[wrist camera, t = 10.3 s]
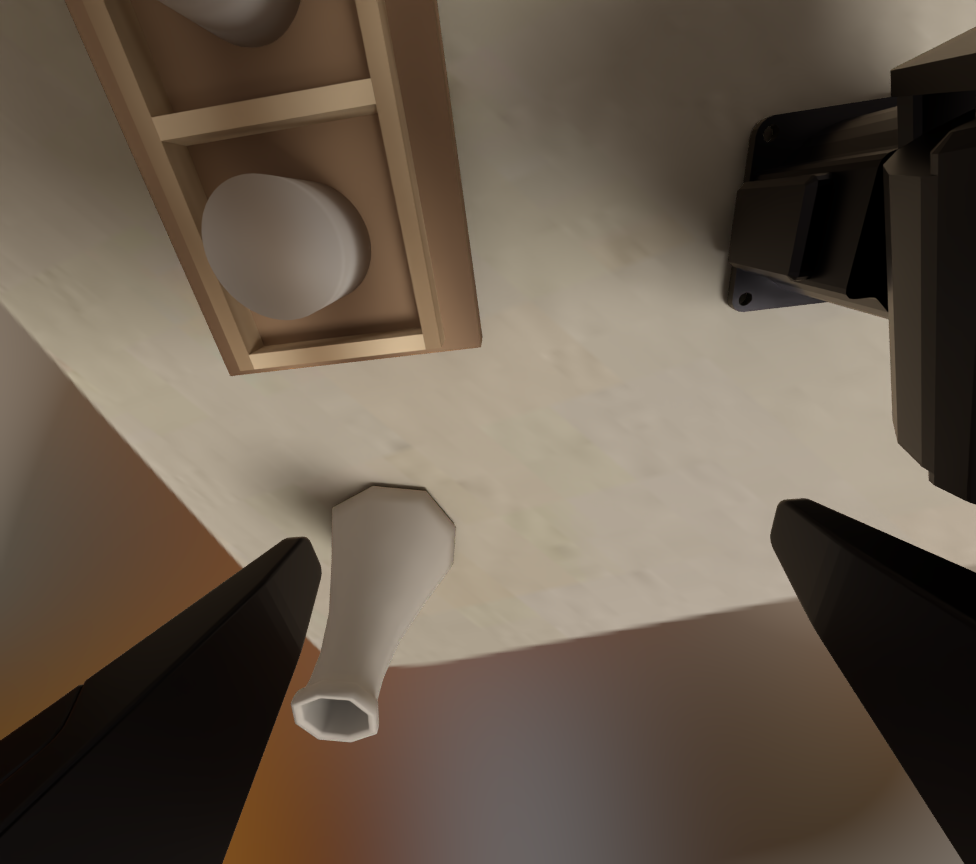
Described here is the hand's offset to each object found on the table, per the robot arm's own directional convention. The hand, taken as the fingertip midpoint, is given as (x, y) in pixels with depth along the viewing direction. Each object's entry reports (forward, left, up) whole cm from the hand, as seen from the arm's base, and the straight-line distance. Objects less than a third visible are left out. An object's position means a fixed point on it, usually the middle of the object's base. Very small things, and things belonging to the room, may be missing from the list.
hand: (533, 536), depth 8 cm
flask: (+8, +10, -12) cm, 18 cm away
